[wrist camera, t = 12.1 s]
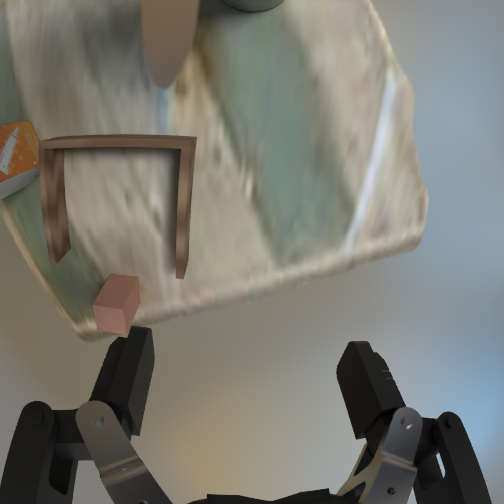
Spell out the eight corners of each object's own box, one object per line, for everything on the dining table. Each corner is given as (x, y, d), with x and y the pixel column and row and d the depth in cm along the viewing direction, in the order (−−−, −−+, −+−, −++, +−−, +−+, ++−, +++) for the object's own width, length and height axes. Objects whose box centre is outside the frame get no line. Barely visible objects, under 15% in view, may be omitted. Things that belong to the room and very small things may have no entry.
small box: (52, 161, 32) (-6, 186, 21) (28, 185, 33) (-27, 216, 22) (30, 118, 29) (-31, 130, 17) (7, 145, 30) (-50, 164, 18)
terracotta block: (111, 274, 41) (92, 304, 34) (138, 277, 41) (122, 309, 34) (114, 297, 43) (97, 330, 36) (140, 301, 43) (126, 335, 36)
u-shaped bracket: (58, 137, 31) (38, 141, 26) (196, 136, 33) (191, 140, 29) (65, 248, 38) (50, 263, 34) (188, 260, 41) (183, 279, 36)
